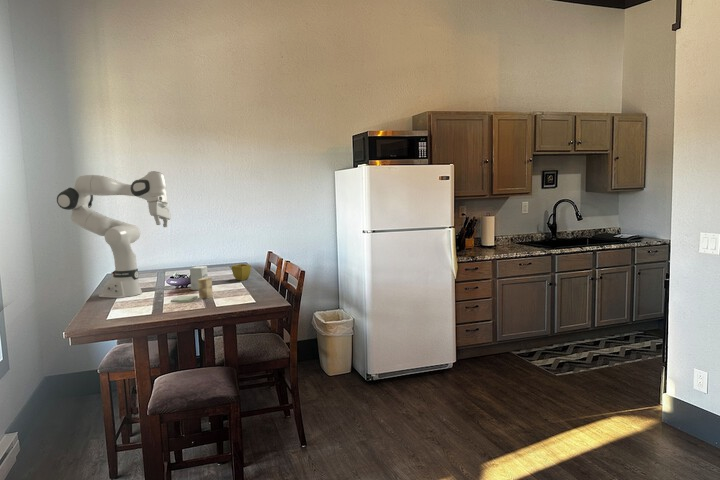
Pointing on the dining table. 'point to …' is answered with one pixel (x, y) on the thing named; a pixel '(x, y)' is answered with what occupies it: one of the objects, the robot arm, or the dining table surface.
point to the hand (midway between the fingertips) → (161, 226)
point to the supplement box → (197, 275)
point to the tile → (184, 298)
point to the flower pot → (241, 271)
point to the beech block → (205, 288)
